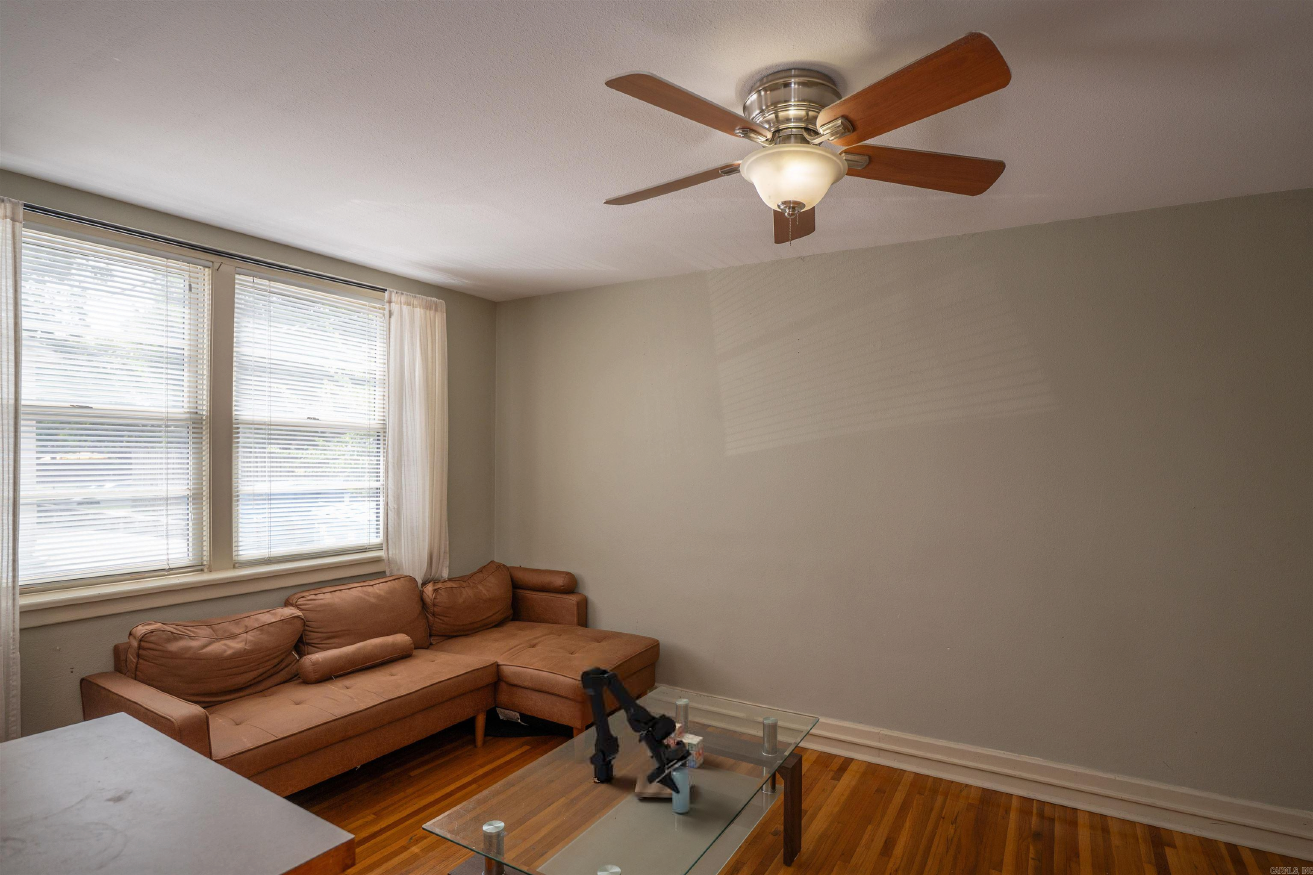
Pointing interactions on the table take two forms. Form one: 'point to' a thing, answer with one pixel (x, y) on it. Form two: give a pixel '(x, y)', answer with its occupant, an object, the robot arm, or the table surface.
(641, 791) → the plate
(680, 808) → the light blue rounded piece
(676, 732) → the stack of blocks
